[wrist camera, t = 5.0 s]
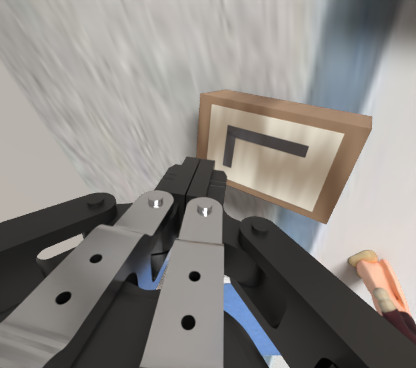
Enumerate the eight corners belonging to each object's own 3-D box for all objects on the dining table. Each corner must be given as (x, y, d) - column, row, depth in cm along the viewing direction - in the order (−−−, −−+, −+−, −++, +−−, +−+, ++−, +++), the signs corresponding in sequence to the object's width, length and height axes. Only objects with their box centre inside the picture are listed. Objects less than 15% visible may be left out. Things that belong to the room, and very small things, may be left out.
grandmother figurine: (400, 273, 24) (525, 448, 14) (365, 286, 26) (451, 450, 15) (363, 233, 22) (475, 400, 12) (328, 249, 24) (397, 408, 13)
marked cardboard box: (199, 93, 15) (371, 129, 10) (225, 89, 17) (372, 116, 13) (194, 172, 18) (326, 225, 14) (217, 158, 21) (333, 199, 16)
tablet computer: (195, 277, 31) (193, 285, 30) (289, 266, 27) (291, 276, 26) (233, 347, 39) (233, 356, 38) (309, 347, 36) (311, 356, 34)
